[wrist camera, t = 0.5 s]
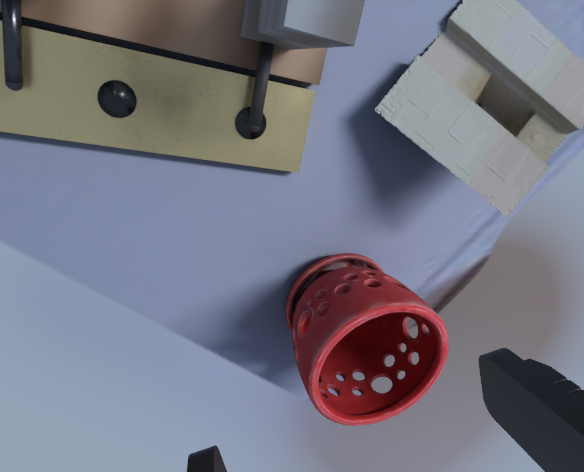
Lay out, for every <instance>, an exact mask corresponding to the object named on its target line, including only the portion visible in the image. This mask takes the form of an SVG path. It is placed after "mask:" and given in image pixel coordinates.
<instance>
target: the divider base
mask: <svg viewBox="0 0 584 472" xmlns="http://www.w3.org/2000/svg"><path fill="white" fill-rule="evenodd" d="M364 1H365V0H21V5H22V17H24V18H29V19H33V20H37V21H42V22H46V23H50V24H55V25H59V26H63V27H68V28H72V29H76V30H81V31H85V32H89V33H94V34H98V35H102V36H107V37H111V38H115V39H120V40H124V41H128V42H133V43H137V44H141V45H146V46H150V47H154V48H159V49H163V50H167V51H172V52H176V53H180V54H185V55H189V56H193V57H198V58H202V59H206V60H211V61H215V62H219V63H224V64H228V65H232V66H237V67H241V68H245V69H250V70H254V71H256V77H255V83H254V89H253V95H252V102H251V108H250V114H249V120H248V128H249V130H250V131H252V132H256V131H258V130H259V129H260V126H261V120H262V114H263V108H264V103H265V97H266V91H267V85H268V80H269V74H271V75H276V76H280V77H284V78H288V79H293V80H297V81H301V82H306V83H310V84H315V85H319V84H320V79H321V74H322V70H323V65H324V61H325V56H326V51H327V48H328V47H343V46H354V44H355V40H356V35H357V31H358V27H359V23H360V18H361V14H362V10H363V6H364ZM0 12H2V8H1V0H0Z"/></svg>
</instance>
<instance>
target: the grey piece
mask: <svg viewBox="0 0 584 472" xmlns="http://www.w3.org/2000/svg"><path fill="white" fill-rule="evenodd" d="M462 2H463V3H462V4H460V5H459V6H458V7H457V9H456V10H455V11H454V13H452V15H451V16H450V18H449V19H448V22H447V24H446V26H447V27H446V31H445V32H443V33H442V34H440V35H439V36H438V38H436V39H435V40H436V41H435V42H434V43H433V44H432V45H431V46H430V47H429V48H428V51H426V52H425V54H423V55H422V56H420V55H418V56H417V58H416V59H414V62H413V63H412V64H411V65H410V66H409V67H408V69H407V70H406V71H405V73H404V74H402V77H400V79H399V80H398V81H397V84H395V85H394V86H393V88H392V89H390V92H388V93H387V95H385V96H384V98H383V99H382V101H381V102H380V103H379V104H378V106H377V107H376V108H375V109H374V110H376V112H377V113H378V114H380V113H381V114H382V115H381V116H383V117H384V119H386V120H387V121H389V122H390V123H391V124H392V125H394V126H396V127H397V129H398V128H399V130H400V131H401V132H402V133H403V134H406V136H407V137H409V138H410V139H411V140H412V141H413V142H415V144H419V147H420V148H422V149H423V150H425V151H426V152H427V153H428V154H429V155H432V157H433V158H435V160H437V161H438V162H440V163H441V164H443V166H446V167H447V169H449V170H450V171H451V173H452V174H454V175H456V176H457V177H459V179H462V180H463V181H464V182H465V183H466V184H467V185H468V186H469V187H471V188H472V190H474V191H475V192H477V193H478V194H480V195H482V197H484V198H483V199H485V200H486V201H488V202H489V203H490V204H493V206H494V207H496V209H498V211H501V213H502V214H505V215H507V218H508V216H509V215H510V214H511V213H512V212H513V210H514V209H515V208H516V207H517V206H518V205H519V203H520V202H521V201H522V200H523V198H524V196H526V195H527V194H528V192H529V191H530V190H531V189H530V188H532V187H533V186H534V185H535V184H536V183H537V182H538V180H539V179H540V178H541V177H542V174H543V172H545V171H546V170H547V169H548V167H549V165H548V164H546V163H545V162H546V160H548V158H549V157H550V156H551V153H552V152H554V150H555V149H556V148H557V147H558V146H560V143H561V142H563V140H564V139H565V136H566V135H568V134H570V133H571V132H573V131H577V130H580V129H581V127H582V125H584V62H583V60H581V59H580V58H579V57H578V56H577V55H575V54H574V53H573V52H572V51H571V50H570V49H569V48H568V49H567V47H566V45H565V44H563V42H561V41H560V40H559V39H557V37H555V36H554V35H553V34H551V32H549V30H547V28H545V26H544V25H542V23H541V22H539V21H538V20H537V19H536V18H534V16H533V15H532V13H530V12H529V11H528V10H527V11H526V8H525V9H524V6H523V5H521V4H520V2H517V1H516V0H462ZM478 103H482V108H481V107H480V106H478Z"/></svg>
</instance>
